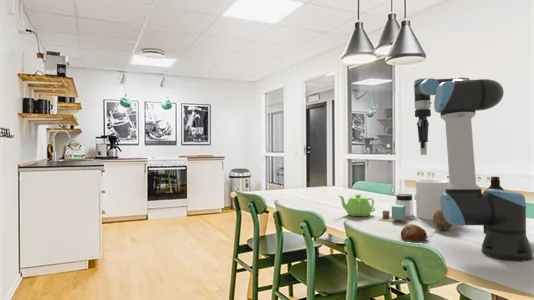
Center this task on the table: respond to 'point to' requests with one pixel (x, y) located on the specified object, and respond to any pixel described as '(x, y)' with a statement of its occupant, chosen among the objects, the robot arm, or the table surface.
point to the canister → (429, 197)
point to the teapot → (358, 206)
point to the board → (395, 221)
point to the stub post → (385, 214)
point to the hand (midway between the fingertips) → (423, 154)
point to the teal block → (398, 212)
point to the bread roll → (413, 233)
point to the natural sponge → (441, 220)
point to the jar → (405, 203)
